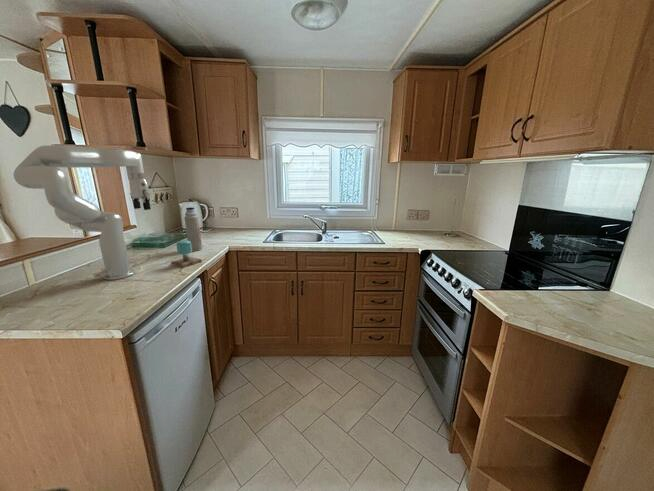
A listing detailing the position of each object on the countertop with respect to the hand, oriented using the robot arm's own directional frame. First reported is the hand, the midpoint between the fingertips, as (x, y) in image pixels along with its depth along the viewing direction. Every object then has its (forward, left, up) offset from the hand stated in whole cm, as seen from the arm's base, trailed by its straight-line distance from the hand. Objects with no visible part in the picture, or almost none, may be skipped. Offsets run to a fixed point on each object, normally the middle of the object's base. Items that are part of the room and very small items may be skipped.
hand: (142, 209), depth 145 cm
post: (+8, -20, -29) cm, 36 cm away
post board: (+8, -20, -30) cm, 37 cm away
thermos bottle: (+28, 0, -31) cm, 41 cm away
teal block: (+8, -20, -24) cm, 32 cm away
